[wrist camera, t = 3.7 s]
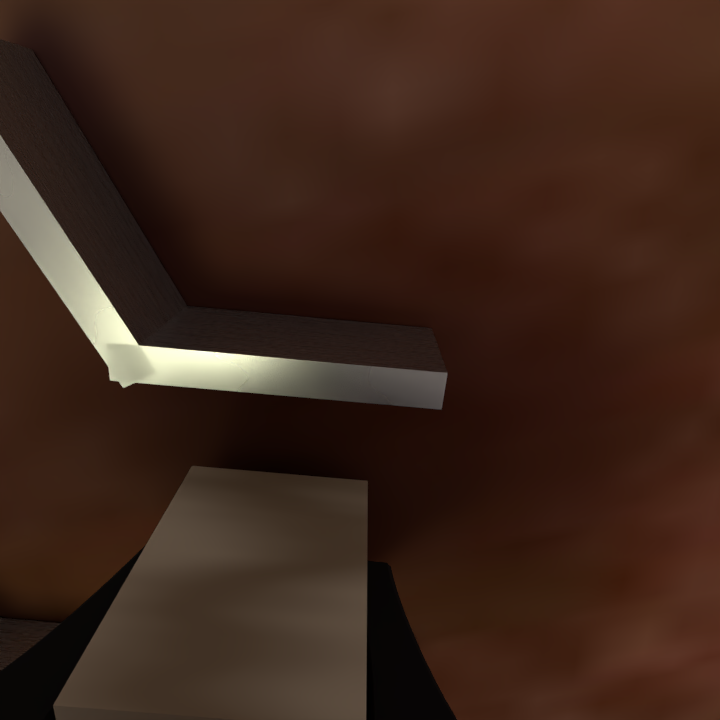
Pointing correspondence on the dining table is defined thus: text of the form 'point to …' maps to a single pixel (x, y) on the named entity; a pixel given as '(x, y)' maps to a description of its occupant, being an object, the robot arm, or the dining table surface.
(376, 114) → the dining table surface
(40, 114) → the rail track
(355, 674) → the maple block
